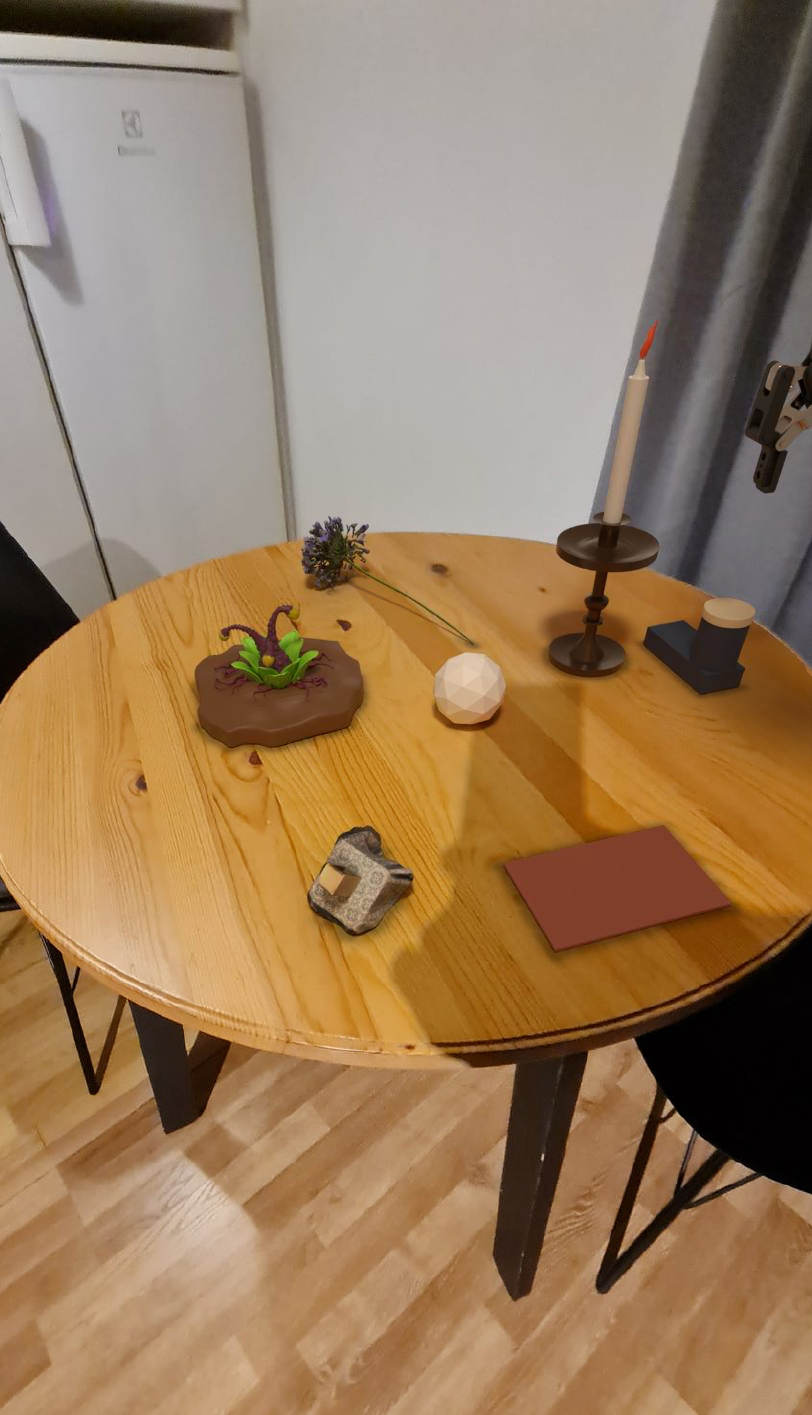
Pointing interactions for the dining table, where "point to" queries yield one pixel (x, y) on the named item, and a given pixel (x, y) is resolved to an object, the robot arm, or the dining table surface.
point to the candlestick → (607, 546)
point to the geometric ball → (469, 688)
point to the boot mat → (613, 887)
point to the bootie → (705, 645)
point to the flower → (339, 555)
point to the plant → (277, 687)
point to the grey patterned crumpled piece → (358, 882)
